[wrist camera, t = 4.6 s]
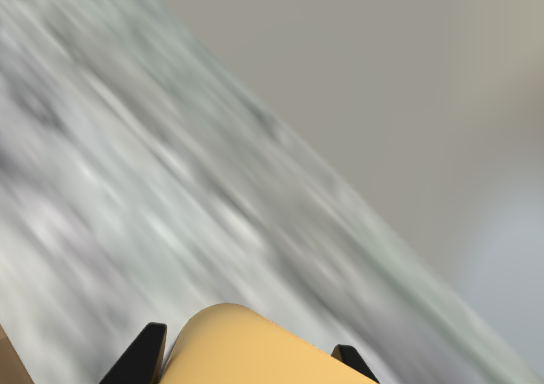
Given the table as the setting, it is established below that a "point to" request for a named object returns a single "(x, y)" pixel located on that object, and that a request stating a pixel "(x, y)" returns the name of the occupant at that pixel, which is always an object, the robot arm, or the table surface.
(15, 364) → the walnut hole block
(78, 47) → the table surface
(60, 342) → the table surface
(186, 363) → the ochre pin
